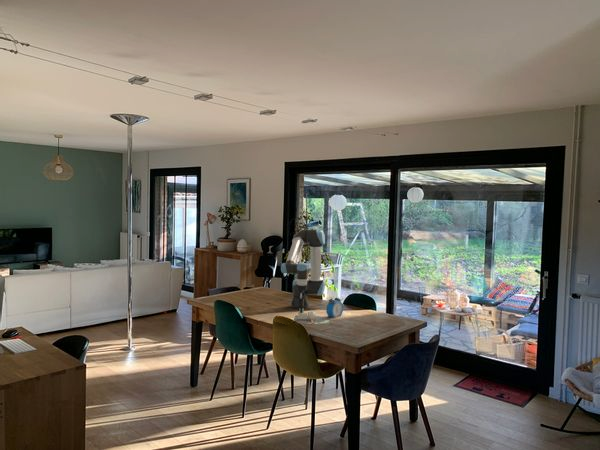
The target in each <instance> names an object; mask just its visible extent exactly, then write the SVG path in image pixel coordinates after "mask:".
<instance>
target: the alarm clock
mask: <svg viewBox="0 0 600 450" xmlns="http://www.w3.org/2000/svg"><path fill="white" fill-rule="evenodd" d="M325 311H326V315H327V317H330V318H337V317H341V316H342V314H343V313H344V312H343V311H344V305H343V303H342V300H341V298H340V297H335V298H330V299H329V300H328V302H327V305H326V309H325Z"/></svg>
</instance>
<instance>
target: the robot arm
mask: <svg viewBox="0 0 600 450" xmlns="http://www.w3.org/2000/svg"><path fill="white" fill-rule="evenodd" d="M325 235H326V234H325V232H324V231H323V229H317V228H316V229H315V228H314V229H311V228H310V229H305V228H303V229H302V230H299V231H298V232H297V233H296V234H295V235H293V238H292V240H291V242H292V244H291V246H290V249H289V252H288V256H287V259H286V261H285V262H283V263H281V265H280V271H281V273H282V274H287V275H288V274H289V275H296V278H295V279H294V280H293V281H292V297H291V302H290V308H291V309H292V308H293V309H299V313H304V309H307V308H309V306H310V305H309V301H308V298H307V297H308V296H307V295H309V296H323V295H324V292H325V288H326V282H325V280H324V278H323V277H322V248H323V247H324V245H325V243H326V236H325ZM304 245H308V248H310V264H309V263H306V262H297V261H298V259H299V255H300V252H301V249H302V247H303V246H304ZM309 274H310V277H309V278H308V275H309Z"/></svg>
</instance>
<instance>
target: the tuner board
mask: <svg viewBox="0 0 600 450" xmlns="http://www.w3.org/2000/svg"><path fill="white" fill-rule="evenodd" d="M293 320H295V321H297V322H299V323H298V324H308V325H313V324H314V325H330V322H331V317H330V316H323V315H321V316H319V315H316V320H314V321H313V324H312V322H311V321H310V320H308V315H307V319H298V314H297V315H295V316H294V318H293Z"/></svg>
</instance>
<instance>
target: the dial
mask: <svg viewBox="0 0 600 450" xmlns="http://www.w3.org/2000/svg"><path fill="white" fill-rule="evenodd" d="M297 315H298V319H307V316H308V320H310V321H311V322H312V324H311V325H313V321H314V320H316V316H317V313H316V311H314V310H313V309H311V310H310V311H308V312H303V313H300V312H298V313H297Z"/></svg>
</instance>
